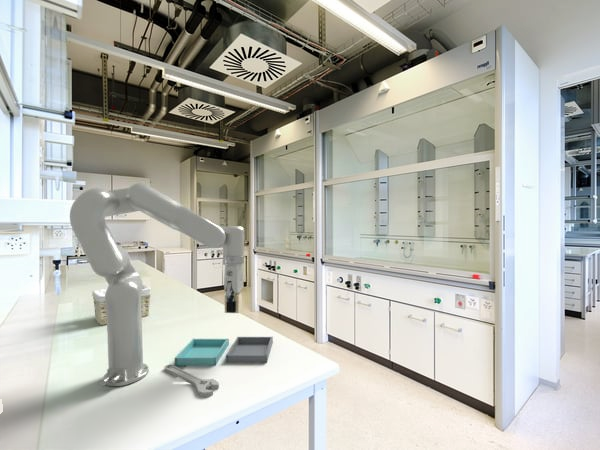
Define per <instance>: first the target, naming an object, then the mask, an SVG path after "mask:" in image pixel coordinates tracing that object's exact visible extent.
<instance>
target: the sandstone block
mask: <svg viewBox="0 0 600 450" xmlns="http://www.w3.org/2000/svg"><path fill="white" fill-rule="evenodd" d="M231 295H232V296H233V294H231ZM226 299H227V297H226V295H224V314H239V313H240V312H241V311H242V309H243V292H240V293H235V301H236V312H234V313H233V312H226Z"/></svg>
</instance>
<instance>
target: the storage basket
mask: <svg viewBox="0 0 600 450" xmlns="http://www.w3.org/2000/svg"><path fill="white" fill-rule="evenodd" d="M106 290H107V288H102V289H96V290H92V295H91V296H92V300H93V308H94V316H95V317H94V319H95V320H96V322H97V324H99V325H101V326H104V325H106V326H107V315H106V307H105V294H106ZM151 296H152V288H151V287H150V286H148V285H147V284H144V283H143V288H142V292H141V314H142V318H143V317H147V316H149V315H150V305H151Z"/></svg>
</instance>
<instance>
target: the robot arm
mask: <svg viewBox="0 0 600 450" xmlns="http://www.w3.org/2000/svg"><path fill="white" fill-rule="evenodd" d="M135 212H141V213H143V214H145V215H146V216H148V217H150V218H151V219H154V220H156V221H158V222H160V223H161V224H162V225H165V226H167V227H168V228H171V229H172V230H175V231H178V232H180V233H181V234H184V235H186V236H188V237H189V238H191V239H193V240H195V241H197V242H199V243H200V244H202V245H205V247H208V248H210V249H218V248H220V247H221V246H222V265H224V273H223V274H224V276H223V279H224V281H223V289H224V293H225V296H226V297H227V299H226V312H233V313H232V314H235V313H234V312H236V301H235V293H241V291H242V289H243V288H244V267H243V265H244V264H245V229H244V227H243V226H239V225H238V226H237V225H235V226H234V225H230V226H229V225H228V226H219V225H217V224H215V223H213V222H211V221H210V220H208V219H207V218H205V217H203V216H201V215H199V214H198V213H196V212H194V211H193V210H191V209H190V208H188V206H187V207H186V206H185V205H184V204H181V203H180V202H179V201H176V200H174V199H173V198H171V197H170V196H168V195H166V194H164V193H163V192H161V191H159V190H157V189H156V188H154V187H152V186H150V185H149V184H146V183H143V182H136V183H134V184H132V185H130V186H129V187H126V188H119V189H111V190H106V189H104V188H97V187H96V188H90V189H88V190H85V191H83V192H82V193H81V194H79V196H77V198H76V199H75V200H74V202H73V203H72V204H71V207H70V211H69V221H70V222H69V223H70V226H71V229H72V231H73V234H74V235H75V237H76V239H77V241H78V242H79V245H80V247H81V249H82V251H83V253H84V254H85V256H86V259H87V260H88V263H89V264H90V267H91V269H92V271H93V272H94V273H95V274H96V275H98V276H100V277H101V278H104V279H105V281H106V283H107V284H108V286H107V288H106V289H107V290H106V294H105V307H106V315H107V324H106V327H107V329H106V331H107V359H108V363H107V364H108V368H107V369H106V373H105V374H104V375H103V377H102V378H101V380H99V386H101V387H105V386H108V387H122V386H126V385H127V386H128V385H131V384H133V383H135V382H137V381H139V380H141V379H143V378H144V377H145V376H147V375H148V373H149V371H150V370H149V365H147V364H146V363H144V356H143V355H144V353H143V352H144V351H143V321H142V320H143V317H142V314H141V292H142V288H143V284H144V283H143V280H142V278H141V275H140V273H139V272H138V270H137V268H136V266H135V264H134V261H133V260H132V258H131V256H130V254H129V253H128V251H127V250H126V249H125V248H124V247H123V246H120V245H118V244H117V242H116V241H115V238H114V236H113V234H112V232H111V230H110V228H109V227H108V225H107V222H106V219H105V218H106V217H113V216H119V215H125V214H129V213H135ZM231 294H233V296H232V295H231Z"/></svg>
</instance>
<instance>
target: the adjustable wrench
mask: <svg viewBox="0 0 600 450" xmlns="http://www.w3.org/2000/svg"><path fill="white" fill-rule="evenodd" d="M164 372H166V373H168V374H170V375H172V376H174V377H179V378H182V379H184V380H186V381H187V383H188V384H190V385H192V386H193V387H195V389H196V392H197V395H198V396H199V397H203V398H204V397H206V398H207V397H212V396H213V395H214V390H215V389H216V390H219V389H220V383H219V382H218V381H217V380H216V379H214V378H208V379H205V378H204V379H203V378H200V377H197V376H196V375H194V374H191V373H189V372H188V371H186V370H183V369H182V368H181V367H176V366H175V364H170V363H169V364H166V365H164ZM210 388H211V389H214V390H211V389H210Z"/></svg>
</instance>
